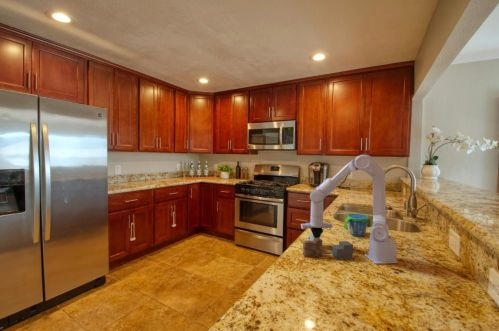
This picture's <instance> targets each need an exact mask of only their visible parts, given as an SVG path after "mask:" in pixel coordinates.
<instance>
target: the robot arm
mask: <svg viewBox="0 0 499 331" xmlns="http://www.w3.org/2000/svg"><path fill="white" fill-rule="evenodd" d="M359 170H360V171H362V172H365V173H366V174H367V175H369V176H370V177H371V179H372V217H373V218H372V223H371V227H370V231H369V232H370V234H369V237H368V238H369V241H368V242H369V243H368V253H364V254H363V256H365V257H366V258H368V259H369V260H370V261H371V262H372V263H374V264H375V265H383V264H384V265H385V264H398V261H397V248H398V246H397V243H396V241H395V239H393V238H392V237H389V234H390V232H389V230H390V227H389V224H388V222H387V213H386V212H387V211H386V210H387V206H386V205H387V203H386V198H387V196H386V171H385V170H384V169H383V167H382V166H381V165H380V163H379V162H378V161H377V160H376V158H374V157H372V156H371V155H369V154H360V155H357V156H356V157H355V158H354V159H352V160H351V161H349V162H347V164H345V165H344V166H343V167H342V168H341V169H340V170H339V171H338V172H337V173H336V174H335V175H334V176H332V177H327V178H325V179H323V181H322V183H320V185H317V186H316V187H315V189H314V190H311V191H310V194H309V199H310V220H309V221H310V222H305V223H301V224H300V228H301V229H302V230H305V229H310V231H311V235H313V236H314V237H315V238H320V239H321V236H322V234H323V233H324V229H333V224H332V223H331V222H324V200H325V199H326V197H328V196H329V195H330V194H331V193H332V192H334V191H335V190H336V189H338V184H339V182H341V181H342V180H343V179H344V178H345V177H346V176H348V175H349V174H351V173H352V172H357V171H359Z"/></svg>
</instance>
